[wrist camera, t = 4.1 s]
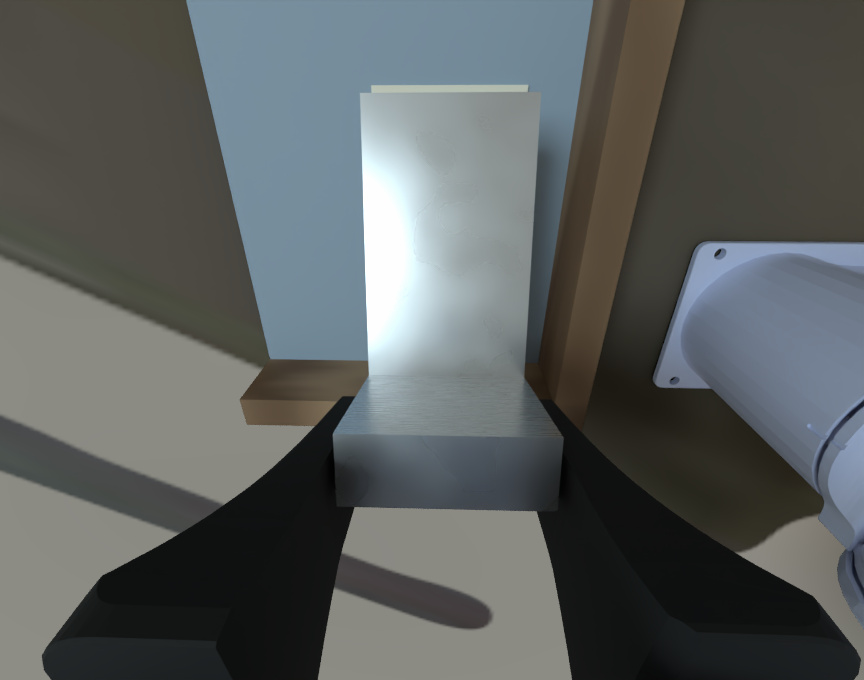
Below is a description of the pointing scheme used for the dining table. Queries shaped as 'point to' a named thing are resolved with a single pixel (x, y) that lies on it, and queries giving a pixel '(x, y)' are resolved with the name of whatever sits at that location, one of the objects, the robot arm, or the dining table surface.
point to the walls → (577, 234)
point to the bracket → (448, 310)
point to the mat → (341, 134)
